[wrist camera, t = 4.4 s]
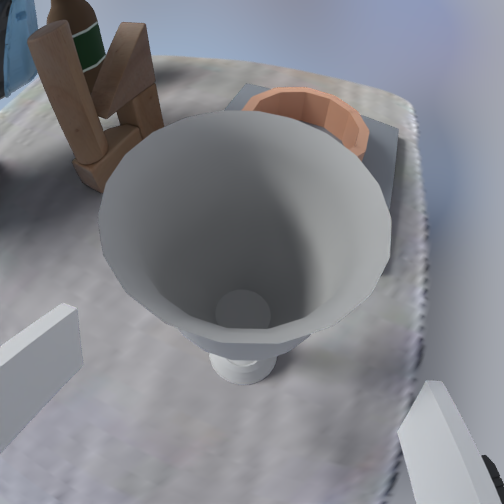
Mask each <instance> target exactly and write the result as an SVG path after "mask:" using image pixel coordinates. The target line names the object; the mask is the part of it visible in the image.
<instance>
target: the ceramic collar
mask: <svg viewBox="0 0 504 504" xmlns="http://www.w3.org/2000/svg"><path fill="white" fill-rule="evenodd" d="M241 111H260V112H265V113H270V114H275V115H279V116H284V117H288V118H292V119H295V120H298V121H304V122H308V123H311V124H314V125H317V126H321V127H324V128H325V129H327V130H328V131H329V132H331V133H332V134H333V135H335V136H336V137H337V138H338V139H340V140H341V141H342V143H343V145H344V146H345V147H346V148H347V149H349V150H350V151H351V152H352V153H354V154H355V155H356V156H357V157H358V158H359V159H360V161H361V162H362V159H363V157H364V154H365V151H366V147H367V142H368V137H369V132H370V131H369V129H368V127H367V126H366V124H365V122H364V121H363V119H362V117H361V116H360V114H359V112H358V111H357V110H355V109H354V108H353V107H351V106H350V105H348V104H347V103H345V102H344V101H342V100H341V99H339V98H338V97H336V96H334V95H331V94H328V93H325V92H321V91H318V90H314V89H311V88H307V87H306V88H305V87H277V88H273V89H270V90H268V91H265V92H263V93H260V94H257V95H255V96H252V97H251V98H250V100H249V101H248V102H247V104H246V105H245V106H244V108H243V109H242V110H241Z"/></svg>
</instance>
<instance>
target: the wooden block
mask: <svg viewBox="0 0 504 504" xmlns="http://www.w3.org/2000/svg"><path fill="white" fill-rule="evenodd" d="M27 45H28V47H29V50H30V53H31V56H32V58H33V61H34V64H35V66H36V69H37V72H38V74H39V77H40V79H41V82H42V84H43V87H44V89H45V91H46V94H47V96H48V99H49V101H50V103H51V106H52V108H53V110H54V112H55V115H56V117H57V119H58V121H59V124H60V126H61V128H62V130H63V132H64V134H65V137H66V139H67V141H68V143H69V145H70V147H71V149H72V151H73V153H74V155H75V157H76V158H75V159H74V160H73V161H72V163H73V165H74V167H75V169H76V171H77V173H78V175H79V177H80V179H81V181H82V182H83V183H84V184H86V185H87V186H89V187H91V188H93V189H94V190H96V191H98V192H100V193H103V192H104V189H105V185H106V182H107V181H108V179H109V178H110V176H111V175H112V173H113V172H114V170H115V169H116V167H117V166H118V164H119V163H120V161H121V160H122V158H123V157H124V155H125V154H126V153H128V152H129V151H130V150H131V149H132V148H134V147H135V146H136V145H137V144H139V143H140V142H141V141H142V140H144V139H145V138H146V137H147V136H149V135H150V134H151V133H152V132H155V131H157V130H159V129H161V128H163V127H164V123H163V118H162V114H161V109H160V104H159V99H158V93H157V88H156V84H155V83H154V82H155V81H156V80H155V74H154V69H153V63H152V58H151V52H150V46H149V41H148V34H147V28H146V24H145V23H131V22H122V23H121V24H120V26H119V28H118V30H117V32H116V34H115V36H114V39H113V41H112V43H111V45H110V48H109V50H108V52H107V55H106V57H105V59H104V62H103V64H102V67H101V69H100V72H99V74H98V77H97V80H96V82H95V85H94V88H93V91H92V93H91V95H90V92H89V89H88V86H87V83H86V80H85V77H84V73H83V70H82V67H81V64H80V61H79V57H78V54H77V51H76V47H75V44H74V41H73V37H72V33H71V30H70V26H69V23H68V21H67V20H59V21H55V22H52V23H50V24H48V25H45V26H43V27H42V28H40V29H38V30H37V31H35V32H34V33H33V34H31V35H30V36H29V38H28V39H27ZM115 112H117V115H118V118H119V122H120V126H117V127H113V128H109V129H107V130H105V131H103V128H102V126H101V123H100V120H99V118H98V116H99V117H102V118H105V119H108V118H109V117H110V116H111V115H113V114H114V113H115Z"/></svg>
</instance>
